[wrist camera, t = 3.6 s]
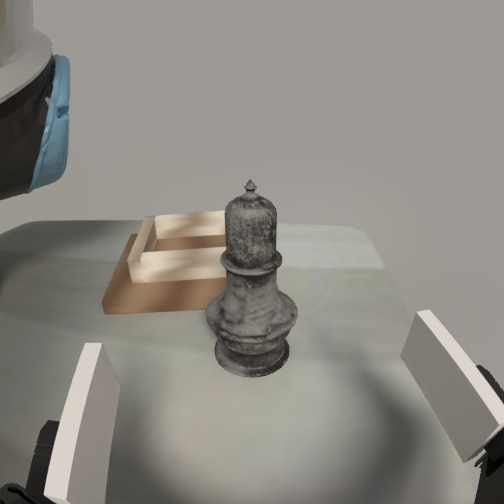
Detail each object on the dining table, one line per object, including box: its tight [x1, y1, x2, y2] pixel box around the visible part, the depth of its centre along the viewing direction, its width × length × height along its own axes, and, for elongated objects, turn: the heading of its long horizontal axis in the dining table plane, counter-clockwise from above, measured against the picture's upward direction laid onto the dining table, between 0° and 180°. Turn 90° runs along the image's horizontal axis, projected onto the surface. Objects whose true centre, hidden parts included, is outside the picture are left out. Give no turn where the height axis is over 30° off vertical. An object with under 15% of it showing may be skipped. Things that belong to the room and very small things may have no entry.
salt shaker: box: [206, 180, 298, 377], centre depth 19 cm, size 6×6×12 cm
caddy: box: [102, 211, 279, 314], centre depth 32 cm, size 15×14×4 cm
